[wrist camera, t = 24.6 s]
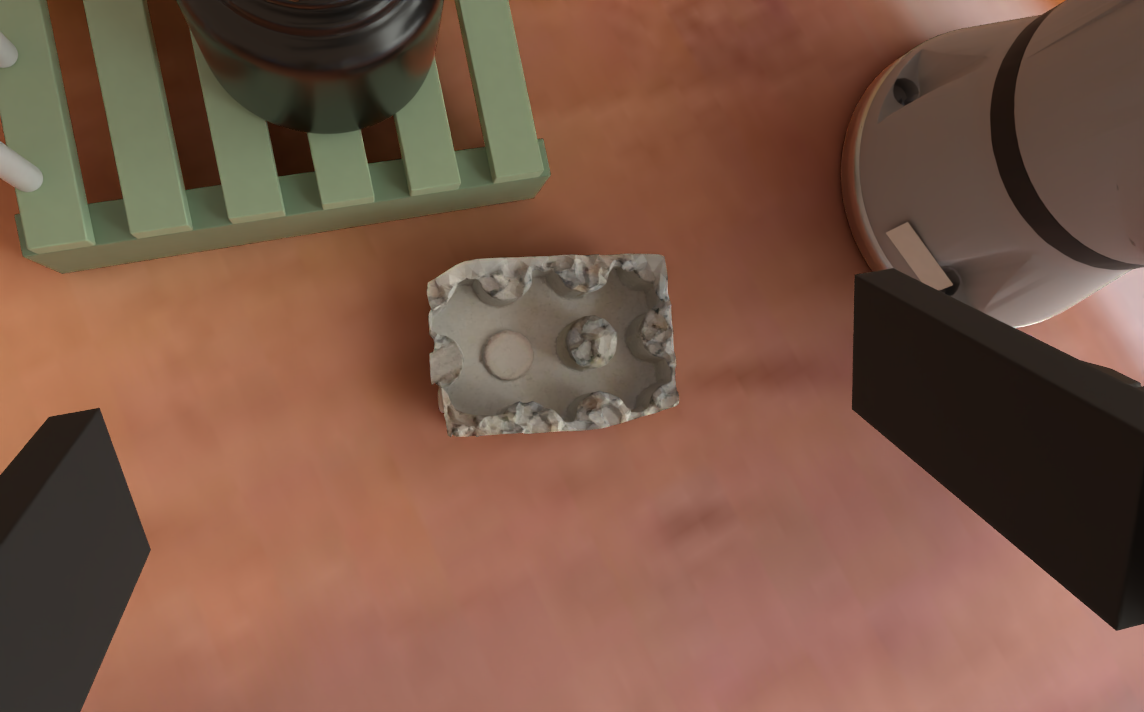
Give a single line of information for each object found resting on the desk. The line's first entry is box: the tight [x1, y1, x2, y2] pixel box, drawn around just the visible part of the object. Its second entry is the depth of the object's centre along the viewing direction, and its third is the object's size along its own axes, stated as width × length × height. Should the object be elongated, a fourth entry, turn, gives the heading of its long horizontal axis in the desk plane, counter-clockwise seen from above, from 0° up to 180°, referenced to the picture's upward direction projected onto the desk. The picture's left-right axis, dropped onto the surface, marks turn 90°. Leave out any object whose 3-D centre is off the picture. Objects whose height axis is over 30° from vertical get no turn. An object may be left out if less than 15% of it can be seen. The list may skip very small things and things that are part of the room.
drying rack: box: [0, 0, 551, 274], centre depth 32 cm, size 20×14×12 cm
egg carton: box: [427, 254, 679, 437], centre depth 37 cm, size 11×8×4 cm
